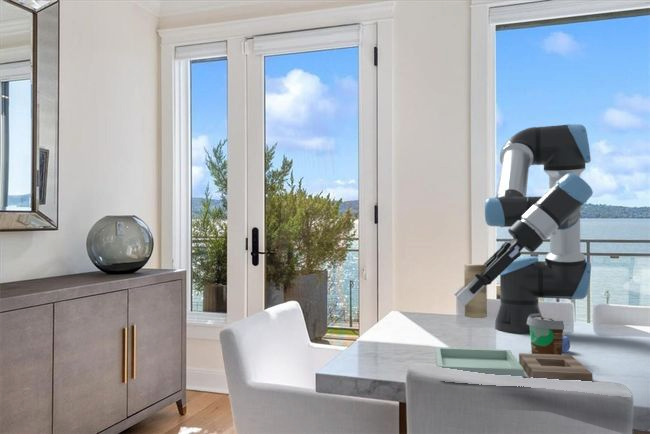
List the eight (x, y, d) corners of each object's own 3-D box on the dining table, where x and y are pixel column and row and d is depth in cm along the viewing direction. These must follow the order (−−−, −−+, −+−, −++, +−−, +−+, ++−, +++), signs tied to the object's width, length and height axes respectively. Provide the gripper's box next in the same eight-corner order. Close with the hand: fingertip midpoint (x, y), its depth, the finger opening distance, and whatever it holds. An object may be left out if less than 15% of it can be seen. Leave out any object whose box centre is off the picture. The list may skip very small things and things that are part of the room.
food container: (518, 350, 144) (518, 313, 144) (540, 349, 144) (540, 312, 144) (541, 362, 131) (540, 321, 131) (564, 361, 132) (564, 321, 132)
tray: (435, 359, 135) (435, 347, 135) (509, 362, 131) (509, 349, 131) (438, 379, 117) (438, 366, 117) (524, 383, 114) (524, 369, 114)
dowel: (463, 314, 127) (463, 264, 127) (485, 314, 126) (484, 264, 126) (465, 317, 122) (465, 265, 122) (488, 318, 121) (487, 265, 121)
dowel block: (519, 363, 130) (519, 353, 130) (571, 365, 128) (571, 355, 128) (533, 382, 114) (532, 371, 114) (592, 385, 112) (592, 373, 112)
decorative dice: (548, 350, 143) (548, 336, 143) (556, 348, 145) (556, 334, 146) (562, 353, 140) (562, 338, 140) (570, 351, 142) (570, 336, 142)
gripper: (554, 242, 113) (474, 317, 115) (535, 240, 131) (467, 305, 133) (527, 217, 114) (449, 293, 116) (512, 218, 132) (445, 284, 134)
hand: (459, 299), depth 125 cm, fingers closed on dowel, 5 cm apart
